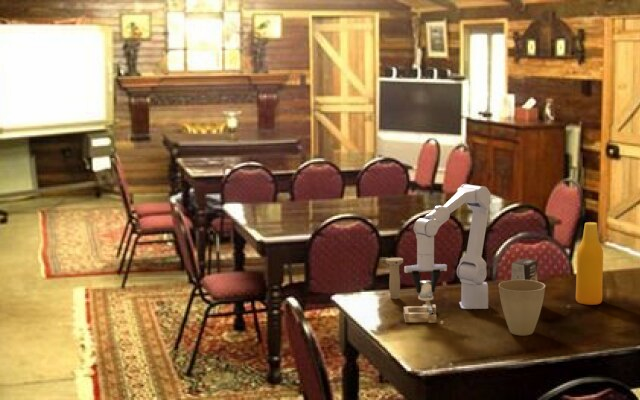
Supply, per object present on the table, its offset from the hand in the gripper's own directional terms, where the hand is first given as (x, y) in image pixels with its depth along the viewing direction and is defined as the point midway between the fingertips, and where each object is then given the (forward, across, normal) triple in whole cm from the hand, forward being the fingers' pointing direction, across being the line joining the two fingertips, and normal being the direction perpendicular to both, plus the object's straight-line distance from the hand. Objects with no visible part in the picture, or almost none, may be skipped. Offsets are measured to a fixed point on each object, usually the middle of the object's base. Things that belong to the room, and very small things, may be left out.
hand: (425, 291), depth 321 cm
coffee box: (+10, -39, -9) cm, 41 cm away
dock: (+9, +1, -2) cm, 10 cm away
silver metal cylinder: (+2, 0, 0) cm, 2 cm away
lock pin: (+9, -3, -8) cm, 12 cm away
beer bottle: (+9, -63, -9) cm, 64 cm away
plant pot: (+10, -27, +21) cm, 35 cm away
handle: (+10, +5, -28) cm, 30 cm away
